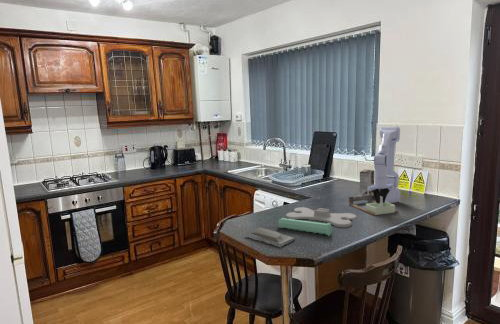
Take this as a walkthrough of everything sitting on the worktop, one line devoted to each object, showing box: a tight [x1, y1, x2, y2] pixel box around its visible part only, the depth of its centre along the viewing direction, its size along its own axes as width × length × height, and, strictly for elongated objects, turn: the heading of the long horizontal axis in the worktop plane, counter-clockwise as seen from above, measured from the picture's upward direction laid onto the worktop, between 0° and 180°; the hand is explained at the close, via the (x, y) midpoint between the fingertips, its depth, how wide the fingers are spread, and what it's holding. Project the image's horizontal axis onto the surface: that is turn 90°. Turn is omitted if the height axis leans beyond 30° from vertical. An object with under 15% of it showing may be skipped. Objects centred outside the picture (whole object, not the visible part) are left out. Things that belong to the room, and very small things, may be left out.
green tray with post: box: [365, 196, 396, 216], centre depth 175 cm, size 12×8×8 cm, turn 106°
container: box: [277, 217, 333, 237], centre depth 154 cm, size 6×6×25 cm
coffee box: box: [359, 169, 375, 197], centre depth 210 cm, size 9×6×16 cm
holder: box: [285, 206, 358, 228], centre depth 172 cm, size 19×34×5 cm, turn 58°
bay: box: [348, 194, 399, 217], centre depth 183 cm, size 15×24×6 cm, turn 16°
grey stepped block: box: [251, 227, 296, 245], centre depth 146 cm, size 10×20×4 cm, turn 48°
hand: (380, 202), depth 175 cm, fingers closed on green tray with post, 2 cm apart
